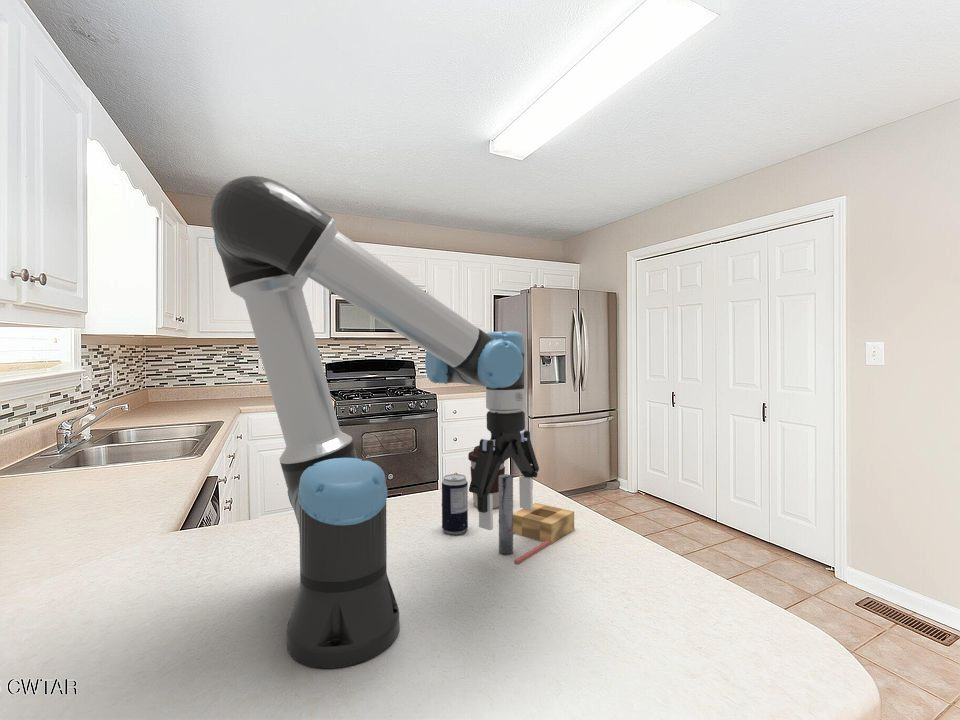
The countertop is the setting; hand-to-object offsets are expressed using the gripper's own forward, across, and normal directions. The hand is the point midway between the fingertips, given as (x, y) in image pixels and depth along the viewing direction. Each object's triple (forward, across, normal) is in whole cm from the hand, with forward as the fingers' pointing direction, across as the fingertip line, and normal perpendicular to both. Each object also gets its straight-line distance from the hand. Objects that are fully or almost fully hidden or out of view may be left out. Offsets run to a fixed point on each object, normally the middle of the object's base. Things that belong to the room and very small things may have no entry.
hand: (507, 517), depth 93 cm
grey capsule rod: (+7, 0, 0) cm, 7 cm away
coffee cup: (+7, +20, +21) cm, 30 cm away
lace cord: (+7, +3, -4) cm, 8 cm away
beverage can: (+7, +2, +16) cm, 17 cm away
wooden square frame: (+7, +14, 0) cm, 15 cm away
